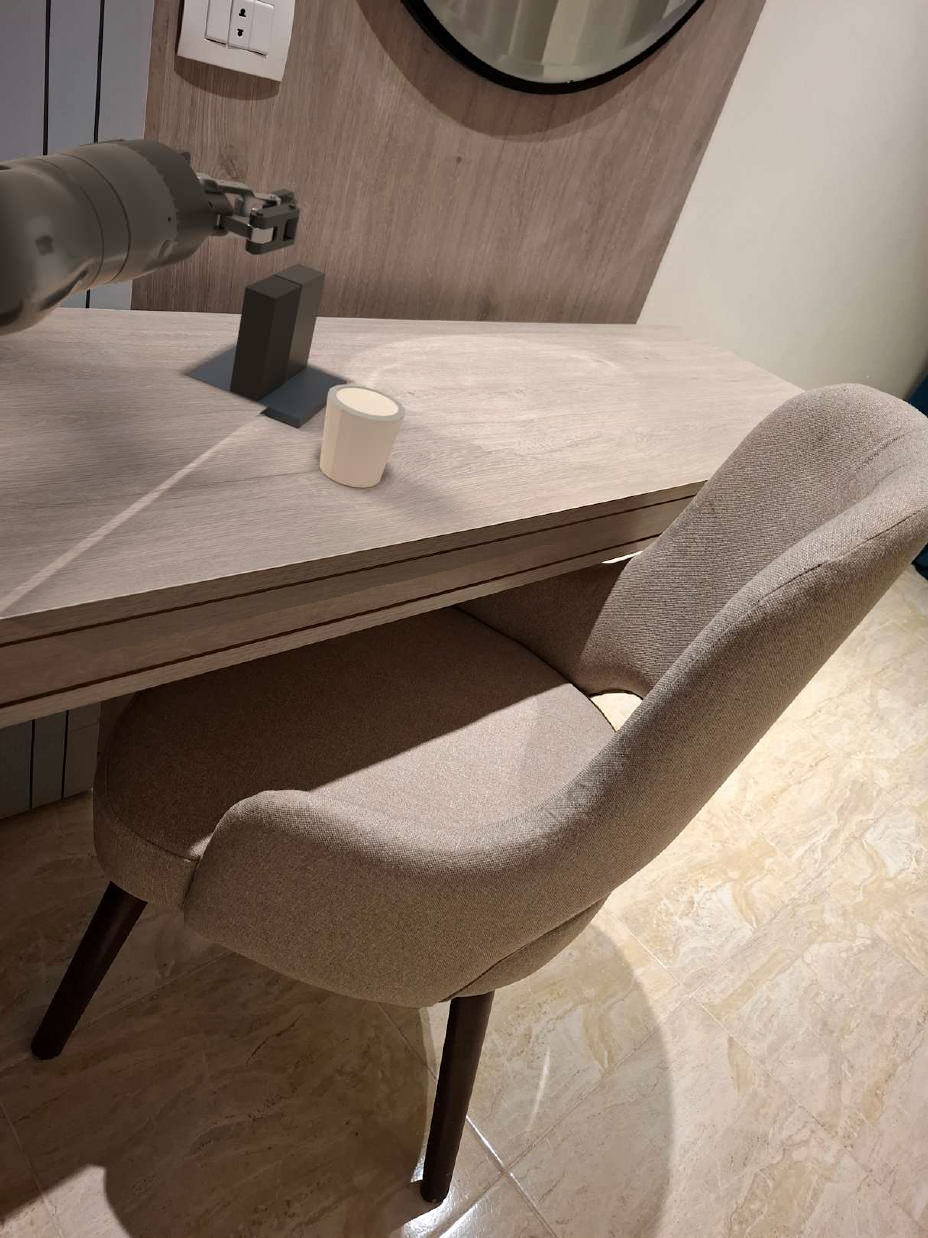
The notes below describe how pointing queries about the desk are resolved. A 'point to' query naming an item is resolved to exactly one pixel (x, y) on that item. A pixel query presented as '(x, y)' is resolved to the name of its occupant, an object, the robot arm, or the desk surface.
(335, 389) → the shot glass
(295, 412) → the dock
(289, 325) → the block
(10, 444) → the desk surface
